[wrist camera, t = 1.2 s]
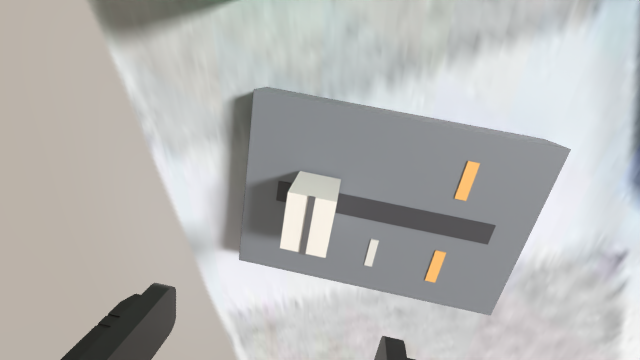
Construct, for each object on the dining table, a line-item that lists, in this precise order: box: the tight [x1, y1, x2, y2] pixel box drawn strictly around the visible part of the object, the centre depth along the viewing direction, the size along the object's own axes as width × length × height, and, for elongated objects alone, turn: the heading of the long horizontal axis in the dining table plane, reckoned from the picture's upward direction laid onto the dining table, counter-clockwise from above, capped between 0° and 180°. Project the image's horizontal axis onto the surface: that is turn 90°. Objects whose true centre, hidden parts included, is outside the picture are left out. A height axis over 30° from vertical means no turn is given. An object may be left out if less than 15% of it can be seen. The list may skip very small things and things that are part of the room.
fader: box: [280, 171, 341, 258], centre depth 21 cm, size 4×3×4 cm
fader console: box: [239, 87, 571, 315], centre depth 24 cm, size 14×21×3 cm, turn 80°
